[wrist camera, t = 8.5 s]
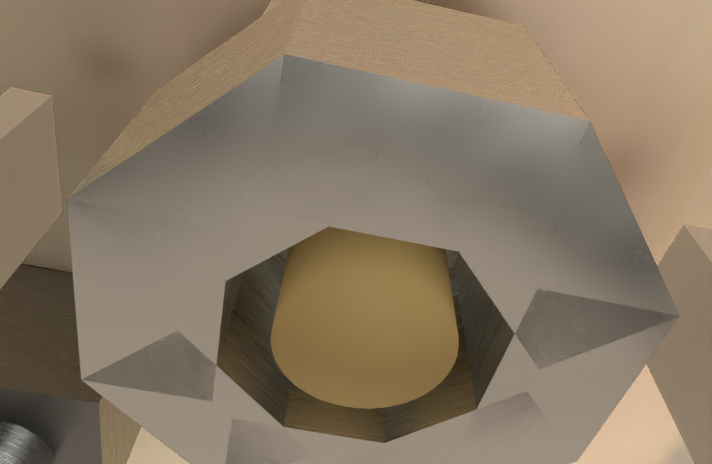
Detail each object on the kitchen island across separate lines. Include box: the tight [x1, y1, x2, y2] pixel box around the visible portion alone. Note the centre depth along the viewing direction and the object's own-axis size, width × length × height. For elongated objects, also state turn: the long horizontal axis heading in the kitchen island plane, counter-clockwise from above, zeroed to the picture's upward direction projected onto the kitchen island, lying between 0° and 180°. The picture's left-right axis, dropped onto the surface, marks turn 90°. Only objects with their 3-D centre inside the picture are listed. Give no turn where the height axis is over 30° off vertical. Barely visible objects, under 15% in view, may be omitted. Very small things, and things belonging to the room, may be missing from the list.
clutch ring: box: [67, 0, 680, 464], centre depth 11 cm, size 9×9×4 cm
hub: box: [262, 0, 459, 409], centre depth 13 cm, size 6×6×9 cm
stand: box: [0, 264, 141, 464], centre depth 19 cm, size 6×6×9 cm
